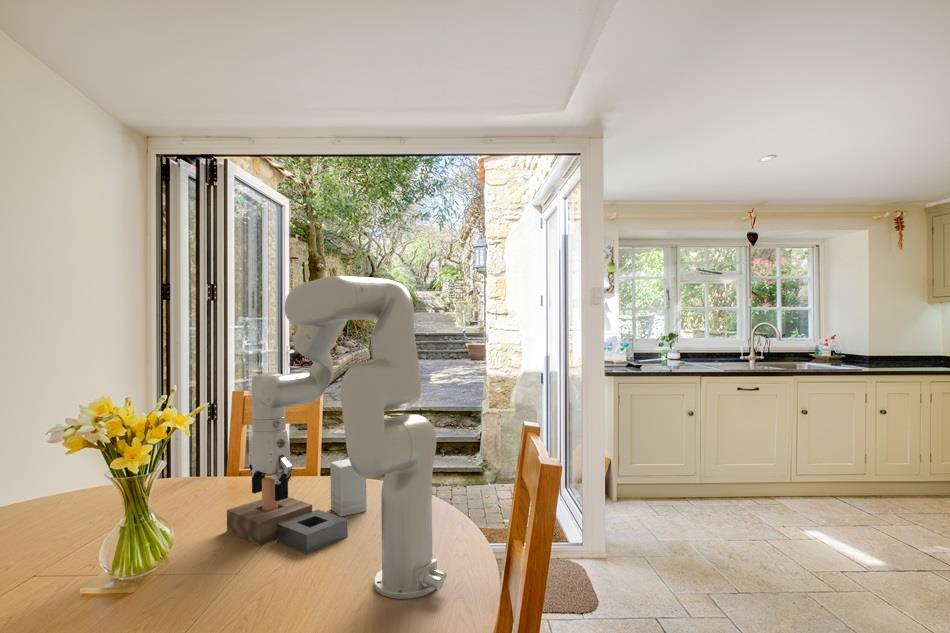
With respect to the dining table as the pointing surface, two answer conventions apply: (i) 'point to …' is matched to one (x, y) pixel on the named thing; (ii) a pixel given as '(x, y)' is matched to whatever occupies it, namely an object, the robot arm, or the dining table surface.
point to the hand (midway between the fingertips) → (269, 495)
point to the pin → (268, 494)
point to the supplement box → (347, 489)
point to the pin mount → (312, 531)
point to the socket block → (263, 519)
